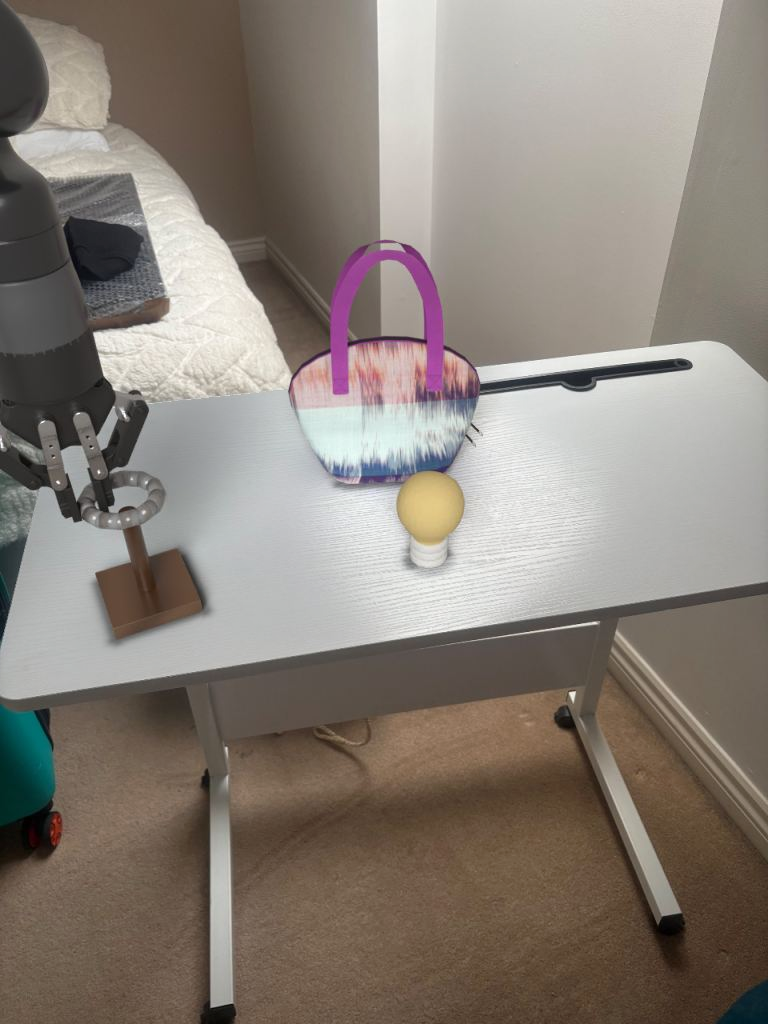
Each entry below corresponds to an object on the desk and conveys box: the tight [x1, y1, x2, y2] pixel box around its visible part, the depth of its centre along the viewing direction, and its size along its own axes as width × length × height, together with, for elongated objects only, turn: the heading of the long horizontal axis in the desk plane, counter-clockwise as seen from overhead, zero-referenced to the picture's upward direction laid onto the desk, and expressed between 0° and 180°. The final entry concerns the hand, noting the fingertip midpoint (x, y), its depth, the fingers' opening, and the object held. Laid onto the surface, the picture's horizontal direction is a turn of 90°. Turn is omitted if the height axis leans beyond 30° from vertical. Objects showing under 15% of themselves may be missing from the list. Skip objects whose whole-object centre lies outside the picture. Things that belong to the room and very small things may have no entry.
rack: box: [94, 505, 204, 640], centre depth 75 cm, size 8×8×10 cm
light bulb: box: [395, 471, 466, 569], centre depth 79 cm, size 6×6×10 cm
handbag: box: [287, 239, 484, 485], centre depth 87 cm, size 21×10×25 cm, turn 94°
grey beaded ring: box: [76, 469, 168, 531], centre depth 70 cm, size 7×7×1 cm
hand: (89, 512), depth 70 cm, fingers closed on grey beaded ring, 1 cm apart
